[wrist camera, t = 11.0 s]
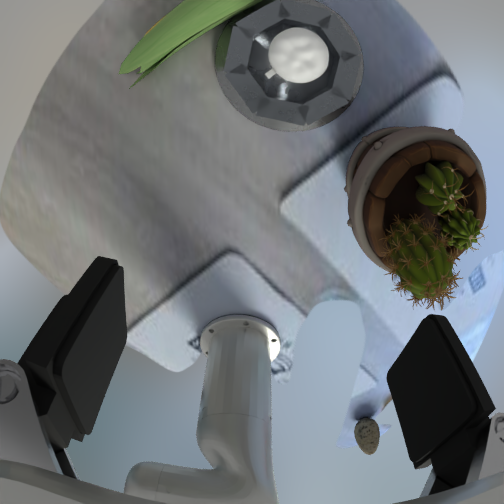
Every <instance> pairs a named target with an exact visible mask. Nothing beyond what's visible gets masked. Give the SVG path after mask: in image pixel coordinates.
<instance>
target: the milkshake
mask: <svg viewBox="0 0 504 504" xmlns="http://www.w3.org/2000/svg"><path fill="white" fill-rule="evenodd" d="M268 57H269V61H270V64H271V66H272V69H271V70H270V71H268V72H267V73H265V76H266V77H267V78H268V79H269V78H271V77H272V76H273V75H275V74H276V73H277V74H278V75H279V76H281V77H282V78H283V79H285V80H287V81H290V82H295V83H306V82H310V81H312V80H315V79H316V78H318V77H320V76H321V75H322V74H323V73H324V72H325V70H326V69H327V66H328V62H329V52H328V48H327V46H326V44H325V43H324V41H323V40H322V39H321V38H320V37H319V36H318V35H317V34H316V33H314V32H312V31H310V30H307V29H304V28H297V27H296V28H289V29H286V30H284V31H282V32H281V33H279V34H278V35H276V36H275V37H274V39H273V40H272V42H271V44H270V47H269V52H268Z"/></svg>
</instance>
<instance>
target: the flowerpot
mask: <svg viewBox="0 0 504 504" xmlns="http://www.w3.org/2000/svg"><path fill="white" fill-rule="evenodd" d="M344 190H345V192H347V194H348V198H349V199H348V213H349V218H350V219H349V220H348V222H347V224H348V226H350V227H352V231H353V234H354V236H355V238H356V240H357V242H358V244H359V246H360V247H361V249H362V250H363V252H364V253H365V254H366V255H367V257H368V258H369V259H371V260H372V261H373V262H374V263H375V264H376V265H378V266H379V267H381V268H382V269H384V270H386V271H388V272H390V273H388V274H391V273H393V274H396V275H394V276H397V275H398V276H399V277H400V280H401V282H399V285H398V286H401V287H402V288H401V287H398V288H394V289H396V290H397V291H398V292H399V290H402V289H403V288H404V289H403V290H404V293H405V291H406V290H408V291H410V292H411V293H412V294H413V296H411V297H414V298H413V299H414V301H416V299H417V300H418V301H416V302H417V303H418V302H419V300H421V301H422V299H423V298H429V299H430V298H431V299H432V300H431V299H430V300H429V299H428V303H429V301H430V303H432V304H433V308H434V301H436V300H438V301H436V302H438V303H440V305H441V301H442V305H441V311H442V309H443V305H444V303H443V298H444V297H445V296H447V298H448V299H449V297H450V298H456V297H452V296H448V294H451V293H453V292H451V290H452V289H453V288H454V287H453V288H451V285H452V284H453V283H455V284H456V281H455V280H457V279H459V278H456V276H457V275H454V276H453V273H452V268H453V264H456V263H454V260H455V259H458V260H460V259H459V258H458V257H459V256H460V255H461V254H462V253H463V252H464V251H465V250H467V249H468V248H469V247H471V246H472V242H475V243H478V242H477V239H479V238H476V236H477V235H479V234H481V233H480V230H483V229H481V227H482V226H483V223H484V219H485V215H486V184H485V179H484V174H483V170H482V166H481V163H480V161H479V159H478V158H477V156H476V155H475V153H474V152H473V150H472V149H471V148H470V147H469V145H468V144H467V143H466V142H465V141H464V140H463V139H461V138H460V137H459V136H457V135H456V134H455V132H454V130H453V129H449V130H445V129H442V128H437V127H426V126H419V127H410V128H409V127H390V128H384V129H381V130H378V131H375V132H373V133H371V134H369V135H368V136H367V137H366V136H364V137H362V141H361V142H360V143H359V144H358V145H357V147H356V148H355V150H354V152H353V154H352V156H351V158H350V160H349V164H348V167H347V173H346V186H345V188H344ZM484 229H485V228H484ZM482 235H483V234H482ZM483 236H484V235H483ZM483 236H482V237H483ZM478 244H479V243H478ZM479 245H480V244H479ZM471 248H472V249H474V248H473V247H471ZM475 250H477V249H475ZM456 266H457V265H456ZM459 272H460V271H459ZM393 274H392V280H393ZM385 275H387V274H385ZM460 279H462V278H460ZM453 280H454V282H453ZM452 282H453V283H452ZM397 284H398V283H397ZM397 284H396V285H395V286H397ZM400 284H401V285H400ZM456 285H457V284H456ZM447 286H449V288H450V289H449V288H447ZM454 286H455V285H454ZM457 286H458V285H457ZM455 287H456V286H455ZM400 288H401V289H400ZM446 288H447V289H446ZM398 289H399V290H398ZM449 290H450V292H447V291H449ZM391 291H394V290H391ZM406 292H407V291H406ZM407 293H408V292H407ZM444 293H445V294H444ZM447 293H448V294H447ZM405 295H406V294H405ZM440 295H441V296H440ZM442 295H443V296H442ZM444 295H445V296H444ZM438 296H439V297H438ZM401 297H402V296H401ZM440 297H442V300H441V299H440ZM436 298H438V299H436ZM413 299H406V300H413ZM426 300H427V299H425V301H426ZM439 300H440V302H439ZM431 301H432V302H431ZM416 302H415V303H416ZM424 303H425V302H424ZM430 303H429V305H430ZM418 304H419V303H418ZM422 304H423V302H422ZM432 304H431V305H430V306H429V305H428V306H429V307H431V306H432ZM419 305H420V304H419ZM413 306H414V302H413ZM416 306H417V304H416ZM420 306H421V305H420ZM423 306H424V304H423ZM428 306H427V309H428V308H429V307H428ZM421 307H422V306H421ZM413 310H414V309H413Z"/></svg>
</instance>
